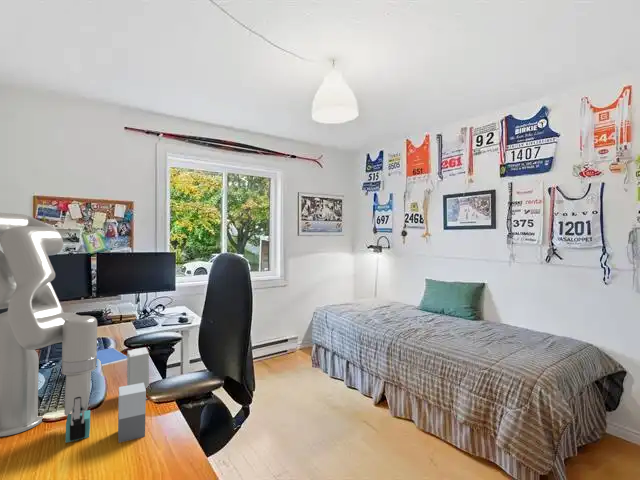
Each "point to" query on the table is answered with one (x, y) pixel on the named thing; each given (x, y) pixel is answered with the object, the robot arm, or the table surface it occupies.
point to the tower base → (131, 428)
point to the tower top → (132, 400)
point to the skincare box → (138, 367)
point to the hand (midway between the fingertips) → (78, 432)
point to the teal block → (87, 425)
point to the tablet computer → (110, 356)
